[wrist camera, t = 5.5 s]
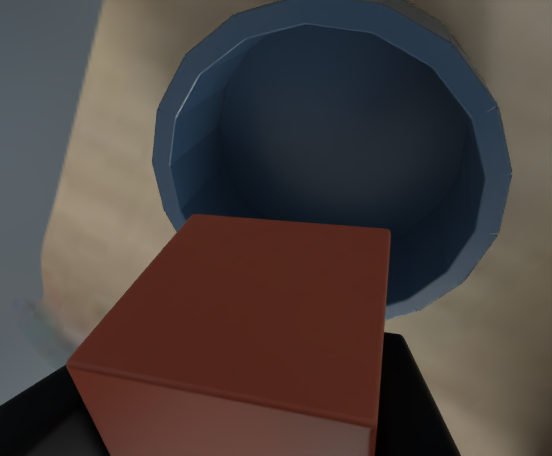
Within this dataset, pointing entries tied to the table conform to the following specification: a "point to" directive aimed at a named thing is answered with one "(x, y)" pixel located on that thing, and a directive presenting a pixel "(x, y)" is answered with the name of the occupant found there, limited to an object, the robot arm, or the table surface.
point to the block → (244, 344)
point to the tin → (341, 134)
